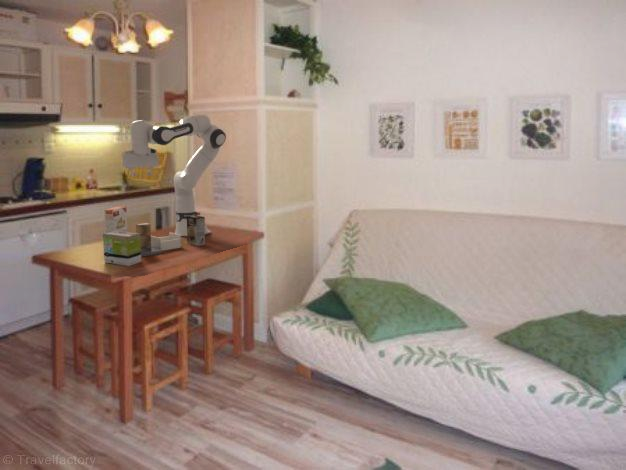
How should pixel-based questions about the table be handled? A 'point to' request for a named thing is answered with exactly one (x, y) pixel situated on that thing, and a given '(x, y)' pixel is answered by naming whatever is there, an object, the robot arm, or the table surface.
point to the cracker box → (116, 219)
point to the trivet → (151, 252)
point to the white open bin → (166, 242)
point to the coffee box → (196, 230)
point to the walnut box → (144, 236)
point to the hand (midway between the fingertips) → (141, 175)
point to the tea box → (122, 248)
